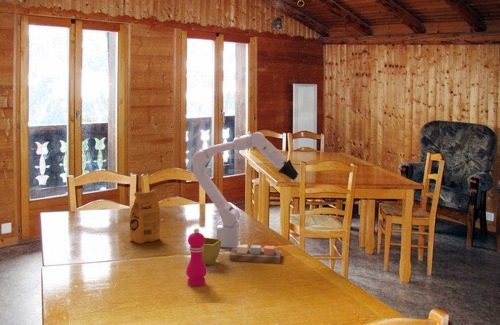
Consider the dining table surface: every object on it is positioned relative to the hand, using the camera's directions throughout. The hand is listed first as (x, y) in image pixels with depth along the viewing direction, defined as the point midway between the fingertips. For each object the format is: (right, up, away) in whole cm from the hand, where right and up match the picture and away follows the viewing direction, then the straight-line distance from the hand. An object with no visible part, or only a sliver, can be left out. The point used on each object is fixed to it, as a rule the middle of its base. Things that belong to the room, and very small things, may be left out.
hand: (296, 177), depth 253 cm
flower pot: (-36, -34, -16) cm, 52 cm away
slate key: (-17, -31, -9) cm, 36 cm away
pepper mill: (-38, -37, -40) cm, 66 cm away
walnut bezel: (-17, -32, -8) cm, 38 cm away
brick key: (-12, -31, -9) cm, 34 cm away
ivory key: (-22, -31, -8) cm, 39 cm away
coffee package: (-66, -29, +16) cm, 74 cm away
